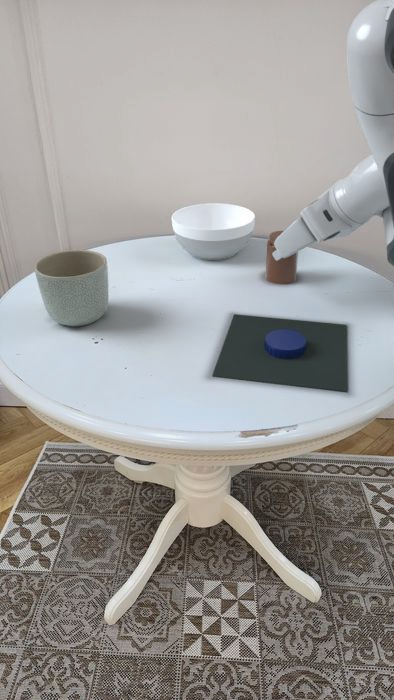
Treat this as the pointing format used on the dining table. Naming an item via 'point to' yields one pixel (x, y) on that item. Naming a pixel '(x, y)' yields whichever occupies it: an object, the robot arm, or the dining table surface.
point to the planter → (74, 286)
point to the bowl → (213, 229)
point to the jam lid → (285, 344)
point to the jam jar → (279, 264)
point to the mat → (305, 371)
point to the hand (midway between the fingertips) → (289, 249)
